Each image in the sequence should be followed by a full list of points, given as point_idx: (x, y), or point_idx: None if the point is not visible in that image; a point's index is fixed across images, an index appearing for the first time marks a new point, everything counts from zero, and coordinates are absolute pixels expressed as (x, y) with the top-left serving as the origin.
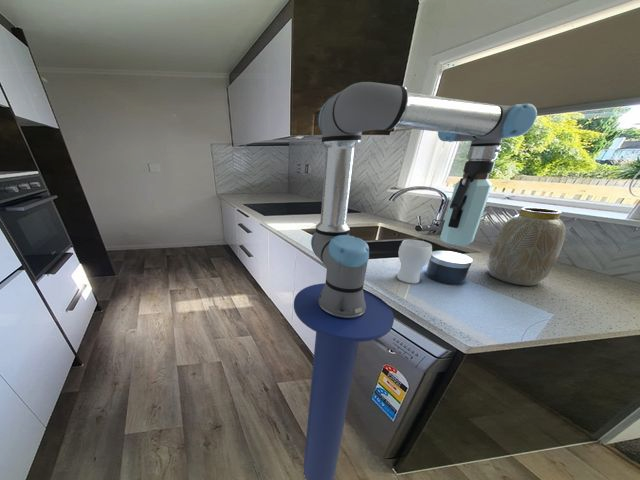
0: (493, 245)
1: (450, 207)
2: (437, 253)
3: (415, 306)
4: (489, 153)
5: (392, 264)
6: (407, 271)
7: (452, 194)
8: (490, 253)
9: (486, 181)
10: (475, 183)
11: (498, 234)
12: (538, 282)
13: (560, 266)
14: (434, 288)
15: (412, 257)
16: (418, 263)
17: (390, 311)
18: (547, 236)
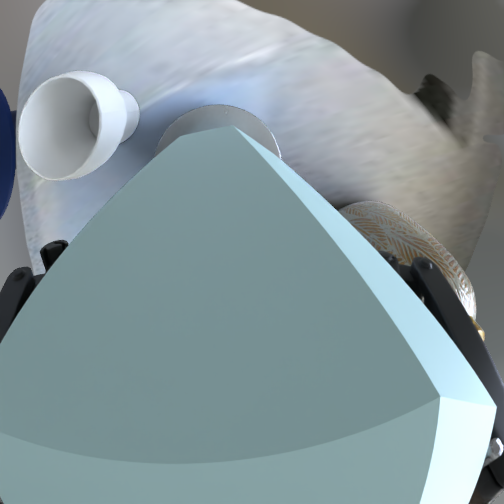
0: (380, 230)
1: (46, 249)
2: (207, 126)
3: (35, 214)
4: None
5: (170, 27)
6: (77, 130)
7: (77, 236)
8: (364, 219)
9: None
10: None
11: (404, 250)
12: None
13: (459, 261)
14: (125, 181)
15: (40, 152)
16: (64, 160)
17: (4, 201)
18: None
